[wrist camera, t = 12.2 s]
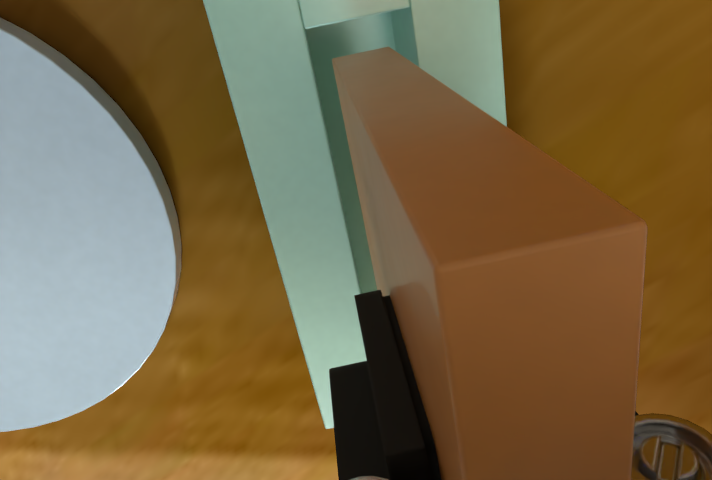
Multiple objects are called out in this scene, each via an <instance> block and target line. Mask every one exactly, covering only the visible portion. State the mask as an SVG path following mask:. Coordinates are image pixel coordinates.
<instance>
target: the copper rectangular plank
mask: <svg viewBox="0 0 712 480" xmlns="http://www.w3.org/2000/svg"><path fill="white" fill-rule="evenodd" d="M332 64H333V69H334V74H335V79H336V84H337V89H338V94H339V99H340V104H341V109H342V114H343V119H344V124H345V130H346V135H347V140H348V145H349V150H350V155H351V160H352V165H353V170H354V175H355V180H356V185H357V190H358V195H359V200H360V205H361V210H362V216H363V221H364V226H365V231H366V236H367V241H368V246H369V251H370V256H371V261H372V266H373V271H374V276H375V281H376V286H377V290H381V292H382V296H388V295H390V298H391V301H392V304H393V307H394V311H395V314H396V317H397V321H398V324H399V327H400V330H401V334H402V337H403V340H404V344H405V347H406V350H407V353H408V357H409V360H410V363H411V366H412V370H413V373H414V376H415V380H416V383H417V386H418V389H419V393H420V396H421V399H422V403H423V406H424V409H425V412H426V416H427V419H428V422H429V425H430V429H431V432H432V436H433V440H434V444H435V449H436V453H437V459H438V464H439V470H440V476H441V480H631V468H632V453H633V438H634V423H635V408H636V393H637V378H638V363H639V348H640V333H641V318H642V303H643V288H644V273H645V258H646V243H647V225H646V223H645V221H644V220H643V219H641V218H640V217H638V216H637V215H636V214H634V213H633V212H631V211H630V210H628V209H627V208H625V207H624V206H622V205H621V204H619V203H618V202H616V201H615V200H614V199H612V198H611V197H609V196H608V195H606V194H605V193H603V192H602V191H600V190H599V189H597V188H596V187H594V186H593V185H591V184H590V183H589V182H587V181H586V180H584V179H583V178H581V177H580V176H578V175H577V174H575V173H574V172H572V171H571V170H569V169H568V168H567V167H565V166H564V165H562V164H561V163H559V162H558V161H556V160H555V159H553V158H552V157H550V156H549V155H547V154H546V153H544V152H543V151H542V150H540V149H539V148H537V147H536V146H534V145H533V144H531V143H530V142H528V141H527V140H525V139H524V138H522V137H521V136H520V135H518V134H517V133H515V132H514V131H512V130H511V129H509V128H508V127H506V126H505V125H503V124H502V123H500V122H499V121H497V120H496V119H495V118H493V117H492V116H490V115H489V114H487V113H486V112H484V111H483V110H481V109H480V108H478V107H477V106H475V105H474V104H472V103H471V102H470V101H468V100H467V99H465V98H464V97H462V96H461V95H459V94H458V93H456V92H455V91H453V90H452V89H450V88H449V87H448V86H446V85H445V84H443V83H442V82H440V81H439V80H437V79H436V78H434V77H433V76H431V75H430V74H428V73H427V72H425V71H424V70H423V69H421V68H420V67H418V66H417V65H415V64H414V63H412V62H411V61H409V60H408V59H406V58H405V57H403V56H402V55H401V54H399V53H398V52H396V51H395V50H393V49H392V48H390V47H384V48H379V49H374V50H370V51H365V52H360V53H355V54H351V55H346V56H341V57H336V58H333V59H332Z"/></svg>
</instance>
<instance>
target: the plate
mask: <svg viewBox="0 0 712 480" xmlns="http://www.w3.org/2000/svg"><path fill="white" fill-rule="evenodd" d="M181 245H182V244H181V237H180V230H179V223H178V217H177V213H176V210H175V206H174V203H173V200H172V196H171V193H170V190H169V187H168V185H167V183H166V180H165V178H164V176H163V174H162V171H161V169H160V167H159V164H158V162H157V161H156V159H155V157H154V156H153V154H152V152H151V151H150V149H149V147H148V145H147V144H146V142H145V140H144V139H143V137H142V135H141V134H140V133H139V131H138V130H137V129H136V127H135V126H134V125H133V123H132V122H131V121H130V120H129V118H128V117H127V116H126V114H125V113H124V112H123V110H122V109H121V108H120V107H119V106H118V105H117V104H116V102H115V101H114V100H113V99H112V98H111V97H110V96H109V95H108V94H107V93H106V92H105V91H104V90H103V89H102V88H101V87H100V86H99V85H98V84H97V83H96V82H95V81H94V80H93V79H92V78H91V77H90V76H88V75H87V74H86V73H85V72H84V71H82V70H81V69H80V68H79V67H78V66H76V65H75V64H74V63H73V62H71V61H70V60H69V59H68V58H67V57H65V56H64V55H63V54H61V53H60V52H58V51H57V50H55V49H54V48H52V47H51V46H49V45H48V44H46V43H45V42H43V41H42V40H40V39H39V38H37V37H36V36H34V35H33V34H31V33H29V32H27V31H26V30H24V29H22V28H20V27H18V26H16V25H14V24H12V23H10V22H8V21H6V20H4V19H3V18H1V17H0V432H6V431H13V430H19V429H25V428H32V427H36V426H40V425H43V424H47V423H51V422H55V421H58V420H61V419H63V418H66V417H68V416H71V415H73V414H76V413H79V412H81V411H83V410H85V409H87V408H89V407H90V406H92V405H94V404H96V403H98V402H100V401H101V400H103V399H105V398H106V397H107V396H109V395H110V394H111V393H113V392H114V391H116V390H117V389H118V388H120V387H121V386H122V385H124V384H125V383H126V382H127V381H128V380H129V379H130V378H131V377H132V376H133V375H134V374H135V373H136V372H137V371H138V370H139V369H140V368H141V366H142V365H143V364H144V362H145V361H146V360H147V358H148V357H149V356H150V354H151V353H152V351H153V350H154V348H155V346H156V344H157V343H158V341H159V339H160V337H161V335H162V333H163V331H164V329H165V327H166V324H167V322H168V319H169V317H170V314H171V311H172V308H173V305H174V302H175V299H176V296H177V293H178V287H179V280H180V274H181Z"/></svg>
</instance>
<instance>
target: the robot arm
mask: <svg viewBox="0 0 712 480" xmlns="http://www.w3.org/2000/svg"><path fill="white" fill-rule="evenodd" d="M354 297H355V302H356V308H357V313H358V318H359V323H360V328H361V333H362V338H363V344H364V349H365V354H366V359H367V361H363V362H358V363H353V364H349V365H344V366H340V367H335V368H331V369H329V378H330V389H331V400H332V411H333V422H334V433H335V444H336V455H337V466H338V477H339V480H441V476H440V470H439V464H438V459H437V453H436V449H435V444H434V440H433V436H432V432H431V429H430V425H429V422H428V419H427V416H426V412H425V409H424V406H423V403H422V399H421V396H420V393H419V389H418V386H417V383H416V380H415V376H414V373H413V370H412V366H411V363H410V360H409V357H408V353H407V350H406V347H405V344H404V340H403V337H402V334H401V330H400V327H399V324H398V321H397V317H396V314H395V311H394V307H393V304H392V301H391V298H390V295H388V296H382V292H381V290H376V291H372V292H367V293H363V294H358V295H354ZM631 480H712V435H711V434H710V433H709V432H708V431H706V430H705V429H704V428H702V427H700V426H698V425H696V424H694V423H692V422H690V421H688V420H685V419H682V418H678V417H675V416H672V415H665V414H654V413H651V414H643V415H638V414H637V412H636V411H635V423H634V438H633V453H632V468H631Z"/></svg>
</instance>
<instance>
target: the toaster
mask: <svg viewBox="0 0 712 480" xmlns="http://www.w3.org/2000/svg"><path fill="white" fill-rule="evenodd" d="M203 2H204V6H205V9H206V13H207V16H208V20H209V23H210V27H211V30H212V34H213V37H214V41H215V44H216V48H217V51H218V55H219V58H220V62H221V65H222V69H223V72H224V76H225V79H226V83H227V86H228V90H229V93H230V97H231V100H232V104H233V107H234V111H235V114H236V118H237V121H238V125H239V128H240V132H241V135H242V139H243V142H244V146H245V149H246V153H247V156H248V160H249V163H250V167H251V170H252V174H253V177H254V181H255V184H256V188H257V191H258V195H259V198H260V202H261V205H262V209H263V212H264V216H265V219H266V223H267V226H268V230H269V233H270V237H271V240H272V244H273V247H274V251H275V254H276V258H277V261H278V265H279V268H280V272H281V275H282V279H283V282H284V286H285V289H286V293H287V296H288V300H289V303H290V307H291V310H292V314H293V317H294V321H295V324H296V328H297V331H298V335H299V338H300V342H301V345H302V349H303V352H304V356H305V359H306V363H307V366H308V370H309V373H310V377H311V380H312V384H313V387H314V391H315V394H316V398H317V401H318V405H319V408H320V412H321V415H322V419H323V422H324V426H325V428H326V429H329V428H333V427H334V422H333V411H332V400H331V389H330V378H329V369H331V368H335V367H340V366H344V365H349V364H353V363H358V362H363V361H367V359H366V354H365V349H364V344H363V338H362V333H361V328H360V323H359V318H358V313H357V308H356V302H355V297H354V295H358V294H363V293H367V292H372V291H376V290H377V286H376V281H375V276H374V271H373V266H372V261H371V256H370V251H369V246H368V241H367V236H366V231H365V226H364V221H363V216H362V210H361V205H360V200H359V195H358V190H357V185H356V180H355V175H354V170H353V165H352V160H351V155H350V150H349V145H348V140H347V135H346V130H345V124H344V119H343V114H342V109H341V104H340V99H339V94H338V89H337V84H336V79H335V74H334V69H333V64H332V59H333V58H336V57H341V56H346V55H351V54H355V53H360V52H365V51H370V50H374V49H379V48H384V47H390V48H392V49H393V50H395V51H396V52H398V53H399V54H401V55H402V56H403V57H405V58H406V59H408V60H409V61H411V62H412V63H414V64H415V65H417V66H418V67H420V68H421V69H423V70H424V71H425V72H427V73H428V74H430V75H431V76H433V77H434V78H436V79H437V80H439V81H440V82H442V83H443V84H445V85H446V86H448V87H449V88H450V89H452V90H453V91H455V92H456V93H458V94H459V95H461V96H462V97H464V98H465V99H467V100H468V101H470V102H471V103H472V104H474V105H475V106H477V107H478V108H480V109H481V110H483V111H484V112H486V113H487V114H489V115H490V116H492V117H493V118H495V119H496V120H497V121H499V122H500V123H502V124H503V125H505V126H506V127H507V121H506V105H505V89H504V73H503V58H502V42H501V26H500V10H499V0H203Z"/></svg>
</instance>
